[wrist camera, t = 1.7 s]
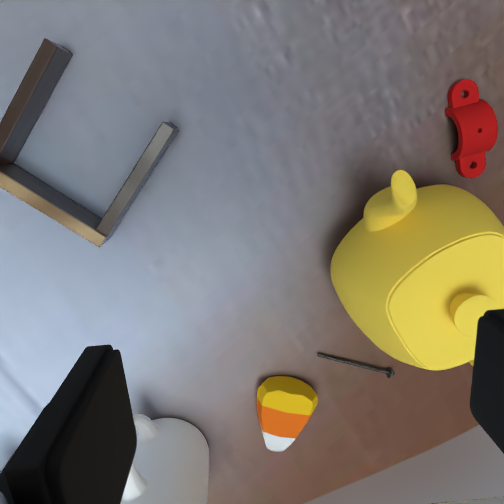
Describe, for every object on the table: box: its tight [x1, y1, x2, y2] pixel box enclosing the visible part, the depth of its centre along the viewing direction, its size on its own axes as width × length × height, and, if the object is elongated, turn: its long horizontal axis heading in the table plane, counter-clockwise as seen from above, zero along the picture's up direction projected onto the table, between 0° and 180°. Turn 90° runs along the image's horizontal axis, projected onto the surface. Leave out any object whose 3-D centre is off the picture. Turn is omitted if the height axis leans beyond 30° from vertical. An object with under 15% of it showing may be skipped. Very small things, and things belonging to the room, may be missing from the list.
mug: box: [120, 414, 209, 504], centre depth 37 cm, size 9×12×11 cm
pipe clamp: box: [445, 80, 498, 178], centre depth 34 cm, size 8×3×2 cm, turn 15°
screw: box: [318, 354, 394, 378], centre depth 40 cm, size 8×1×1 cm, turn 73°
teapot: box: [330, 170, 504, 370], centre depth 31 cm, size 13×20×12 cm
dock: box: [0, 38, 179, 247], centre depth 32 cm, size 10×11×3 cm
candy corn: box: [257, 376, 318, 451], centre depth 41 cm, size 6×3×8 cm
